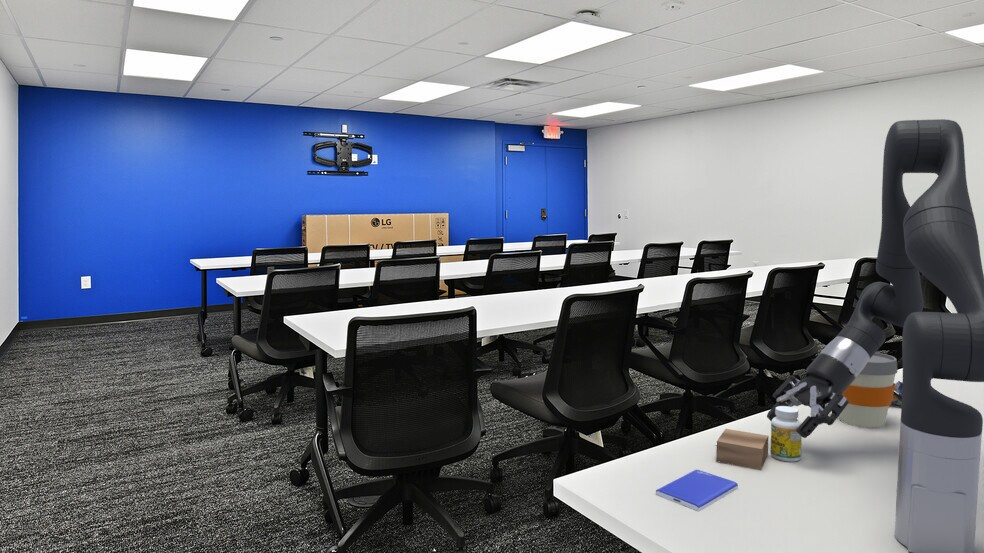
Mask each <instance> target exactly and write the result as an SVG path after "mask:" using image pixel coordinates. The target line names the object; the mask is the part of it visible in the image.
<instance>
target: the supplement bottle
mask: <svg viewBox="0 0 984 553" xmlns="http://www.w3.org/2000/svg"><path fill="white" fill-rule="evenodd" d="M775 414H776V416H777V417H774V418H773V419H772V421H770V455H771V456H772V458H774V459H776V460H779V461H782V462H789V463H793V462H798V461H800V460H801V458H802V439H803V437H801V436H800V435H799V434H798V433H797V428H798V427H799V426H800V425H801V424H802V422H801V421H800V419H798V418H799V409H797V408H796V407H794V406H792V407H788V406H778V407H776V408H775Z"/></svg>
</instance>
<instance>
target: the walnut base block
mask: <svg viewBox="0 0 984 553" xmlns="http://www.w3.org/2000/svg"><path fill="white" fill-rule="evenodd" d="M716 443H717V445H716V451H715V454H716V455H715V456H716V457H715V462H717V461H720V462H719V463H722V462H724V464H727V463H729V464H728V465H732V464H733V466H738V467H743V468H744V467H745V468H749V469H753V470H754V469H755V470H759V471H762V469H763V467H764V464H765V463H766V460H767V459H768V457H769V435H766V434H760V433H754V432H750V431H749V432H747V431H743V430H742V431H741V430H736V429H730V428H725V429H724V430H723V432H722V433H721V434H720V436H719V437H718V439H717V440H716Z"/></svg>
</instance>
